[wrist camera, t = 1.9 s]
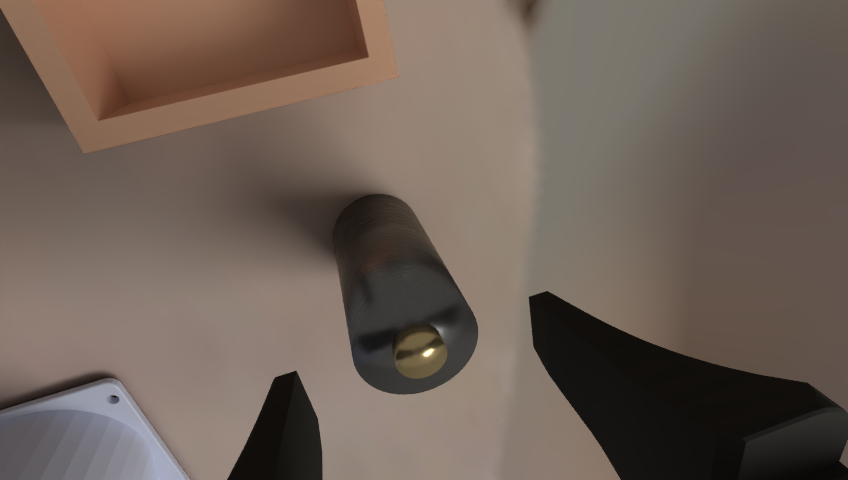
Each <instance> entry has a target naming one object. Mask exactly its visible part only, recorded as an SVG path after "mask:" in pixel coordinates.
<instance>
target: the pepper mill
mask: <svg viewBox="0 0 848 480" xmlns="http://www.w3.org/2000/svg"><path fill="white" fill-rule="evenodd" d="M333 242H334V248H335V254H336V260H337V266H338V272H339V278H340V285H341V291H342V297H343V303H344V309H345V315H346V321H347V327H348V333H349V339H350V345H351V351H352V357H353V361H354V365H355V367H356V370H357V372H358V373H359V375H360V376H361V377H362V378H363V379H364V380H365V381H366V382H367V383H368V384H369V385H371V386H373V387H374V388H376V389H378V390H381V391H384V392H388V393H392V394H415V393H420V392H424V391H428V390H431V389H433V388H436V387H438V386H440V385H442V384H444V383H445V382H447V381H448V380H450V379H451V378H453V377H454V376H455V375H456V374H457V373H459V372H460V371H461V370H462V369H463V367H464V366H465V365H466V364H467V362H468V361H469V359H470V358H471V356H472V354H473V352H474V350H475V347H476V344H477V339H478V326H477V322H476V318H475V316H474V314H473V312H472V310H471V309H470V307H469V305H468V304H467V302H466V300H465V298H464V297H463V295H462V293H461V292H460V290H459V288H458V287H457V285H456V283H455V281H454V280H453V278H452V276H451V275H450V273H449V271H448V270H447V268H446V266H445V264H444V263H443V261H442V259H441V258H440V256H439V254H438V252H437V251H436V249H435V247H434V246H433V244H432V242H431V241H430V239H429V237H428V235H427V234H426V232H425V230H424V229H423V227H422V225H421V223H420V222H419V220H418V218H417V217H416V215H415V213H414V212H413V210H412V209H411V208H410V207H409V206H408V205H407V204H406V203H405V202H403V201H402V200H400V199H398V198H396V197H393V196H389V195H380V194H377V195H370V196H365V197H363V198H360V199H358V200H356V201H354V202H353V203H351V204H350V205H349V206H347V207H346V208H345V209H344V210H343V211H342V213H341V214H340V216H339V217H338V219H337V221H336V224H335V226H334V231H333Z"/></svg>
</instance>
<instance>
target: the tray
mask: <svg viewBox="0 0 848 480" xmlns="http://www.w3.org/2000/svg"><path fill="white" fill-rule="evenodd" d="M0 8H1V10H2V12H3V14H4V15H5V17H6V19H7V21H8V22H9V24H10V26H11V28H12V29H13V31H14V33H15V35H16V36H17V38H18V40H19V42H20V43H21V45H22V47H23V48H24V50H25V52H26V54H27V55H28V57H29V59H30V61H31V62H32V64H33V66H34V68H35V69H36V71H37V73H38V75H39V76H40V78H41V80H42V82H43V83H44V85H45V87H46V89H47V90H48V92H49V94H50V96H51V97H52V99H53V101H54V103H55V104H56V106H57V108H58V110H59V111H60V113H61V115H62V117H63V118H64V120H65V122H66V124H67V125H68V127H69V129H70V131H71V132H72V134H73V136H74V138H75V139H76V141H77V143H78V145H79V146H80V148H81V150H82V152H83V153H84V154H87V153H91V152H95V151H99V150H103V149H107V148H111V147H115V146H120V145H124V144H128V143H132V142H136V141H140V140H144V139H148V138H152V137H156V136H161V135H165V134H169V133H173V132H177V131H181V130H185V129H189V128H193V127H198V126H202V125H206V124H210V123H214V122H218V121H222V120H226V119H230V118H234V117H239V116H243V115H247V114H251V113H255V112H259V111H263V110H267V109H271V108H276V107H280V106H284V105H288V104H292V103H296V102H300V101H304V100H308V99H312V98H317V97H321V96H325V95H329V94H333V93H337V92H341V91H345V90H349V89H354V88H358V87H362V86H366V85H370V84H374V83H378V82H382V81H386V80H391V79H395V78H399V75H398V70H397V65H396V60H395V56H394V51H393V46H392V41H391V36H390V31H389V27H388V22H387V17H386V12H385V7H384V2H383V0H0Z"/></svg>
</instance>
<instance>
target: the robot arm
mask: <svg viewBox="0 0 848 480" xmlns="http://www.w3.org/2000/svg"><path fill="white" fill-rule="evenodd" d="M529 304H530V314H531V325H532V335H533V346H534V349H535V350H536V352H537V354H538V356H539V358H540V360H541V361H542V363H543V365H544V367H545V368H546V370H547V372H548V374H549V375H550V377H551V378H552V380H553V381H554V382H555V383H556V385H557V386H558V388H559V389H560V391H561V392H562V393H563V395H564V396H565V397H566V399H567V400H568V401H569V403H570V404H571V405H572V407H573V408H574V409H575V411H576V412H577V413H578V415H579V416H580V418H581V419H582V420H583V421H584V423H585V424H586V425H587V427H588V428H589V430H590V431H591V432H592V434H593V435H594V437H595V438H596V440H597V441H598V443H599V444H600V446H601V447H602V449H603V450H604V452H605V454H606V455H607V457H608V459H609V460H610V462H611V464H612V465H613V467H614V469H615V470H616V472H617V474H618V475H619V477H620V479H621V480H848V468H847V467H845V466H844V465H843V464H842V463H841V462H840V461H839V460H840V457H841V455H842V452H843V450H844V447H845V445H846V442H847V440H848V413H847V412H846V411H845V410H844V409H843V408H842V407H840V406H839V405H837V404H836V403H835V402H833V401H832V400H831V399H829V398H828V397H826V396H825V395H824V394H822V393H821V392H820V391H818V390H817V389H815V388H814V387H813V386H811V385H810V384H808V383H805V382H799V381H793V380H787V379H781V378H775V377H769V376H764V375H758V374H754V373H749V372H745V371H740V370H736V369H731V368H727V367H723V366H719V365H716V364H712V363H709V362H705V361H702V360H698V359H695V358H692V357H688V356H685V355H682V354H679V353H676V352H673V351H670V350H668V349H665V348H662V347H660V346H657V345H654V344H652V343H649V342H646V341H644V340H642V339H639V338H637V337H635V336H632V335H630V334H628V333H626V332H624V331H621V330H619V329H617V328H615V327H613V326H611V325H609V324H607V323H605V322H603V321H601V320H599V319H597V318H595V317H593V316H591V315H590V314H588V313H586V312H584V311H582V310H580V309H578V308H577V307H575V306H573V305H571V304H570V303H568V302H565V301H564V300H562V299H561V298H559V297H557V296H555V295H553V294H552V293H550V292H548V291H546V292H543V293H540V294H536V295H534V296H530V297H529ZM110 395H115V396H117V397H118V398H114V397H111V396H110ZM0 480H190V479H189V477H188V476H187V475H186V473H185V472H184V470H183V469H182V468H181V466H180V465H179V463H178V462H177V461H176V459H175V458H174V456H173V455H172V454H171V452H170V451H169V449H168V448H167V447H166V445H165V444H164V442H163V441H162V439H161V438H160V437H159V435H158V434H157V432H156V431H155V430H154V428H153V427H152V425H151V424H150V423H149V421H148V420H147V418H146V417H145V416H144V414H143V413H142V411H141V410H140V409H139V407H138V406H137V404H136V403H135V402H134V400H133V399H132V397H131V396H130V395H129V393H128V392H127V390H126V389H125V388H124V386H123V385H122V383H121V382H120V381H119V380H116V379H114V378H105V379H101V380H98V381H95V382H91V383H88V384H85V385H82V386H78V387H75V388H72V389H68V390H65V391H62V392H59V393H55V394H52V395H49V396H46V397H42V398H39V399H36V400H32V401H29V402H26V403H23V404H19V405H16V406H13V407H9V408H6V409H3V410H0ZM227 480H322V447H321V439H320V431H319V424H318V418H317V416H316V414H315V411H314V409H313V407H312V405H311V402H310V400H309V398H308V396H307V393H306V391H305V389H304V387H303V384H302V382H301V380H300V378H299V375H298V373H297V371H294V372H291V373H288V374H284V375H281V376H278V377H275V379H274V380H273V382H272V385H271V387H270V390H269V392H268V395H267V397H266V400H265V402H264V405H263V407H262V409H261V412H260V414H259V416H258V419H257V421H256V423H255V425H254V427H253V430H252V432H251V434H250V436H249V438H248V440H247V443H246V445H245V447H244V449H243V451H242V452H241V454H240V456H239V458H238V460H237V462H236V464H235V466H234V468H233V470H232V472H231V473H230V475H229V477H228V479H227Z"/></svg>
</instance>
